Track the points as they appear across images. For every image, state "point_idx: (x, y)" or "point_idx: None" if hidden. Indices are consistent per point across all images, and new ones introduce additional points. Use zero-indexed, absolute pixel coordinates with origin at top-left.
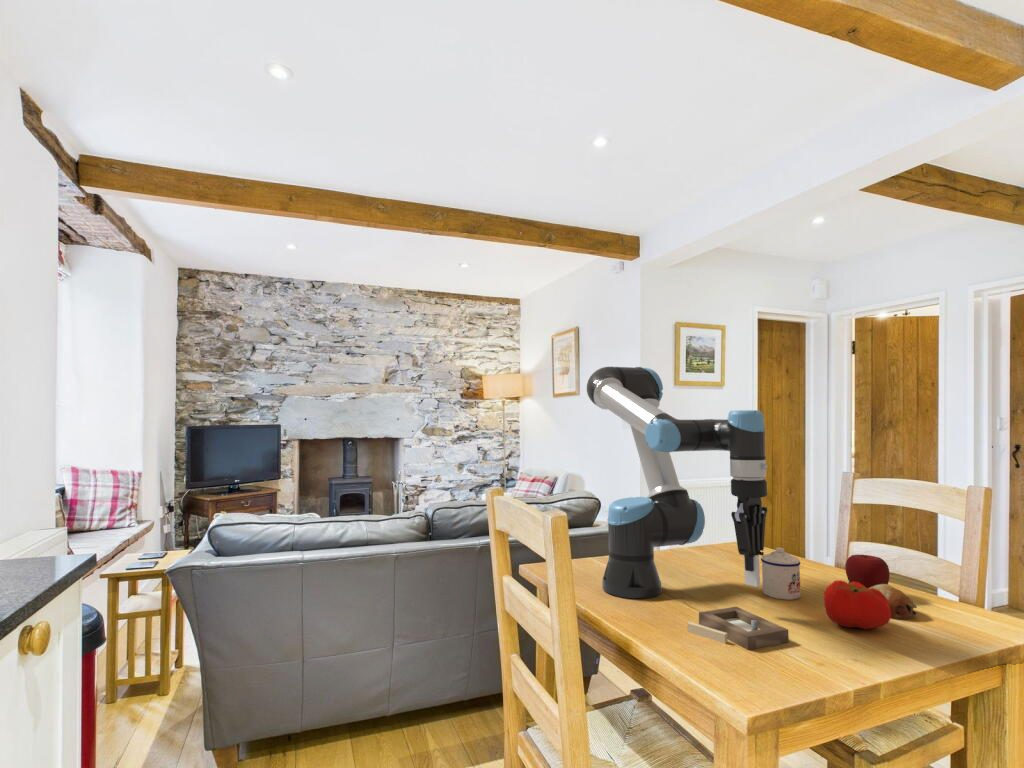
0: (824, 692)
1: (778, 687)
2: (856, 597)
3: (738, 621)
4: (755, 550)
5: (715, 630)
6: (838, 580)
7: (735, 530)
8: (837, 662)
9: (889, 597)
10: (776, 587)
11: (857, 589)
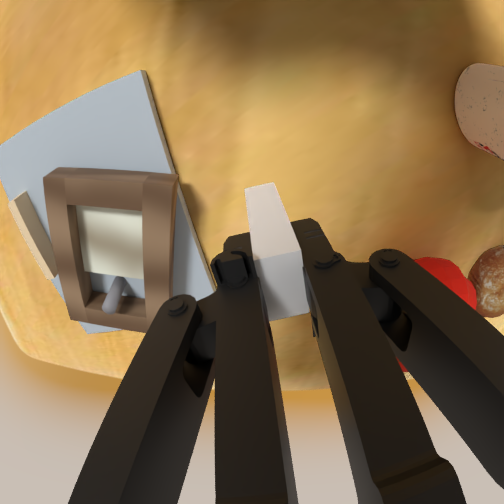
0: (120, 375)
1: (76, 350)
2: None
3: (134, 224)
4: (316, 317)
5: (39, 259)
6: None
7: (87, 460)
8: None
9: (486, 309)
10: (473, 117)
11: None
